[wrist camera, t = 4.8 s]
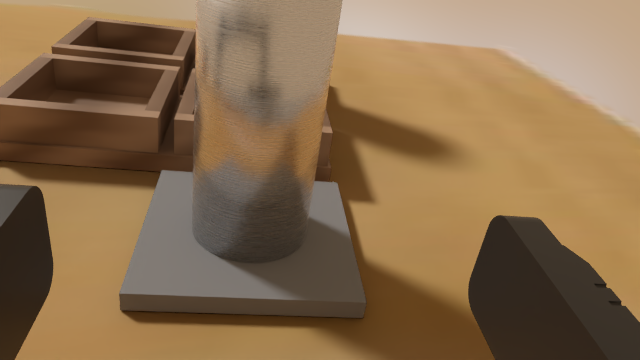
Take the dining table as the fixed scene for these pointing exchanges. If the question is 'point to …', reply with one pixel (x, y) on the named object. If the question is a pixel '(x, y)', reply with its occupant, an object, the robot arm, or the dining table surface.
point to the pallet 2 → (106, 116)
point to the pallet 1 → (132, 44)
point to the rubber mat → (241, 264)
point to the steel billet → (258, 122)
